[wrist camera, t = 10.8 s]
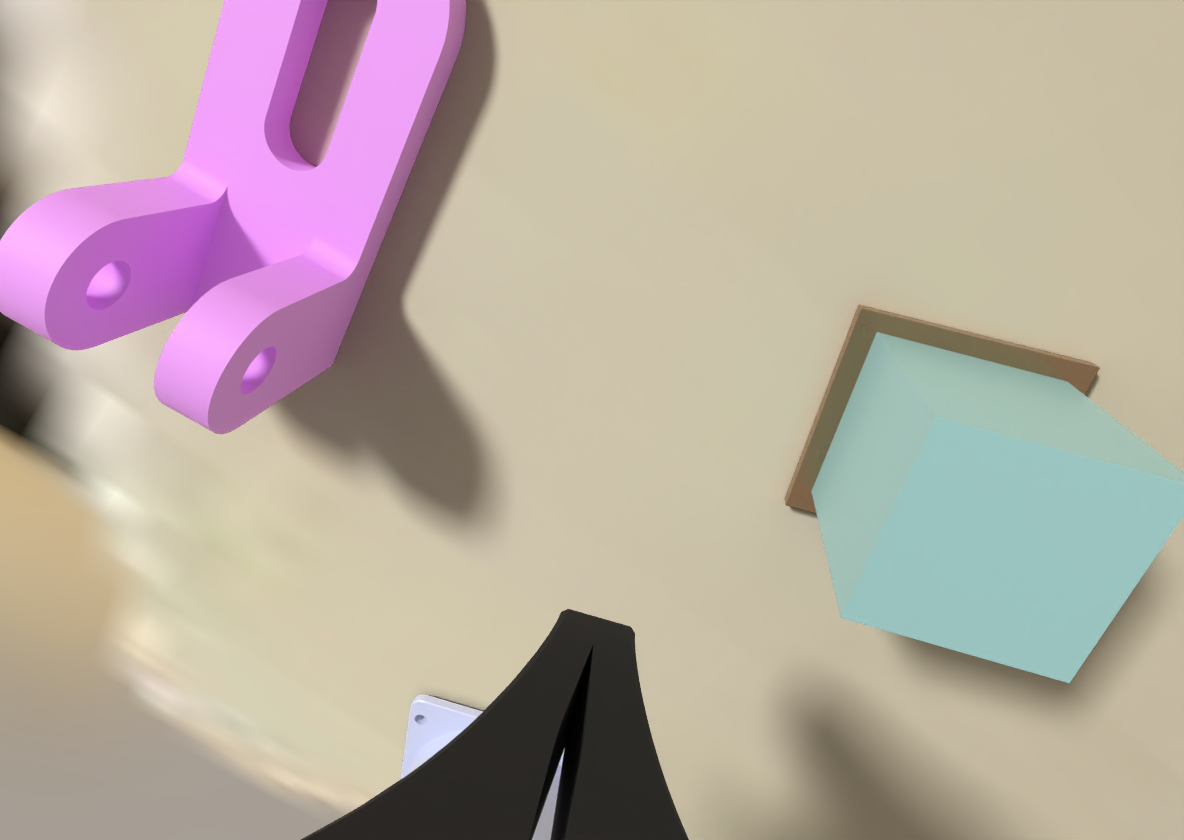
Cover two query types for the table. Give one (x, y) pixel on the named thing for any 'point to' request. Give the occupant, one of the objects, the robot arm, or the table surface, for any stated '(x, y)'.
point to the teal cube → (987, 508)
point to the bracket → (242, 215)
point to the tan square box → (924, 333)
